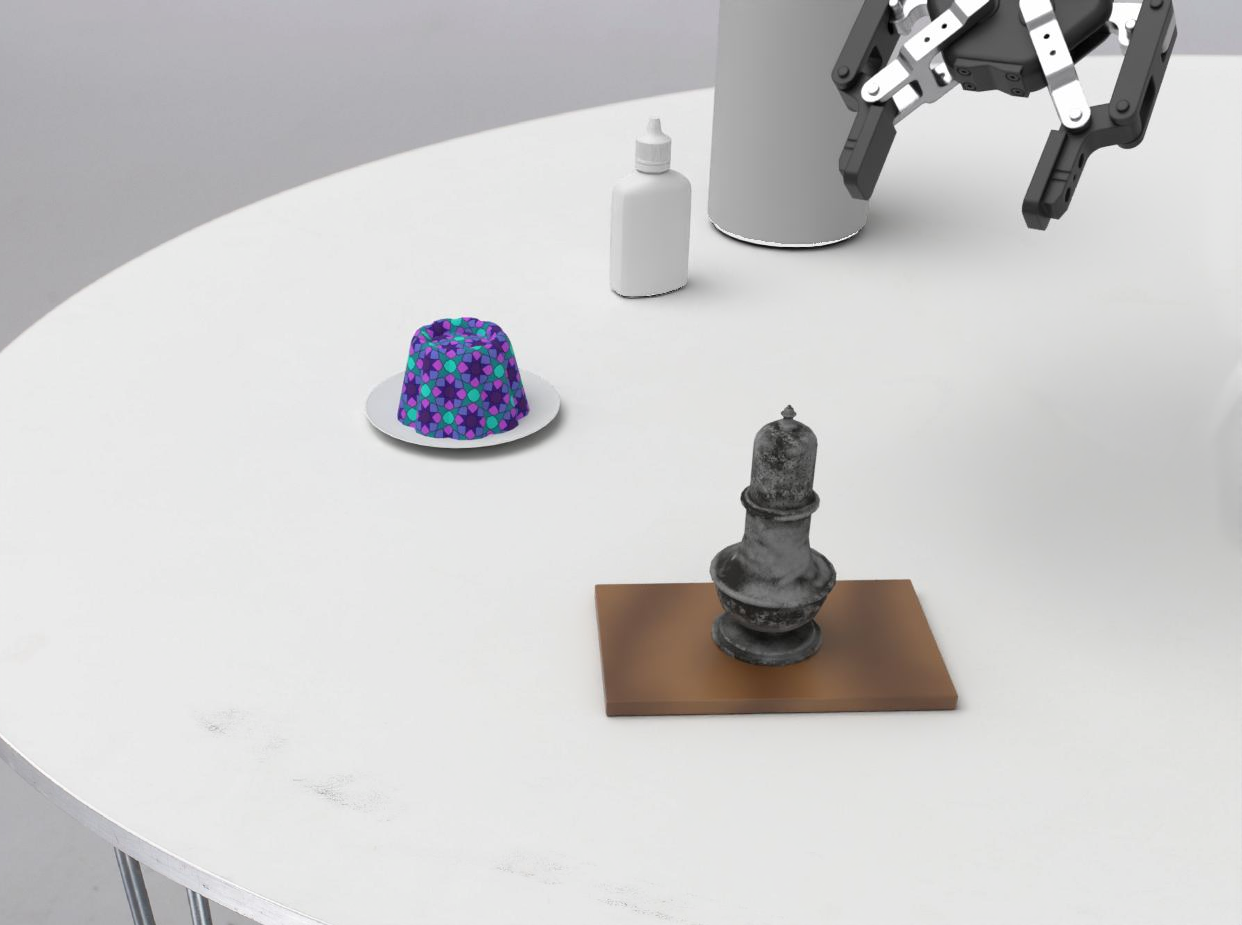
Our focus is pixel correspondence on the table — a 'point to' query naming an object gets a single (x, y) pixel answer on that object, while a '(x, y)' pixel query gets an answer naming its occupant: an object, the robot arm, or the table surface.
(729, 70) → the cylinder vase
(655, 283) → the eye dropper bottle
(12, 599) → the table surface
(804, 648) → the salt shaker
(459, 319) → the pudding
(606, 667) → the wooden board
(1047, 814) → the table surface
